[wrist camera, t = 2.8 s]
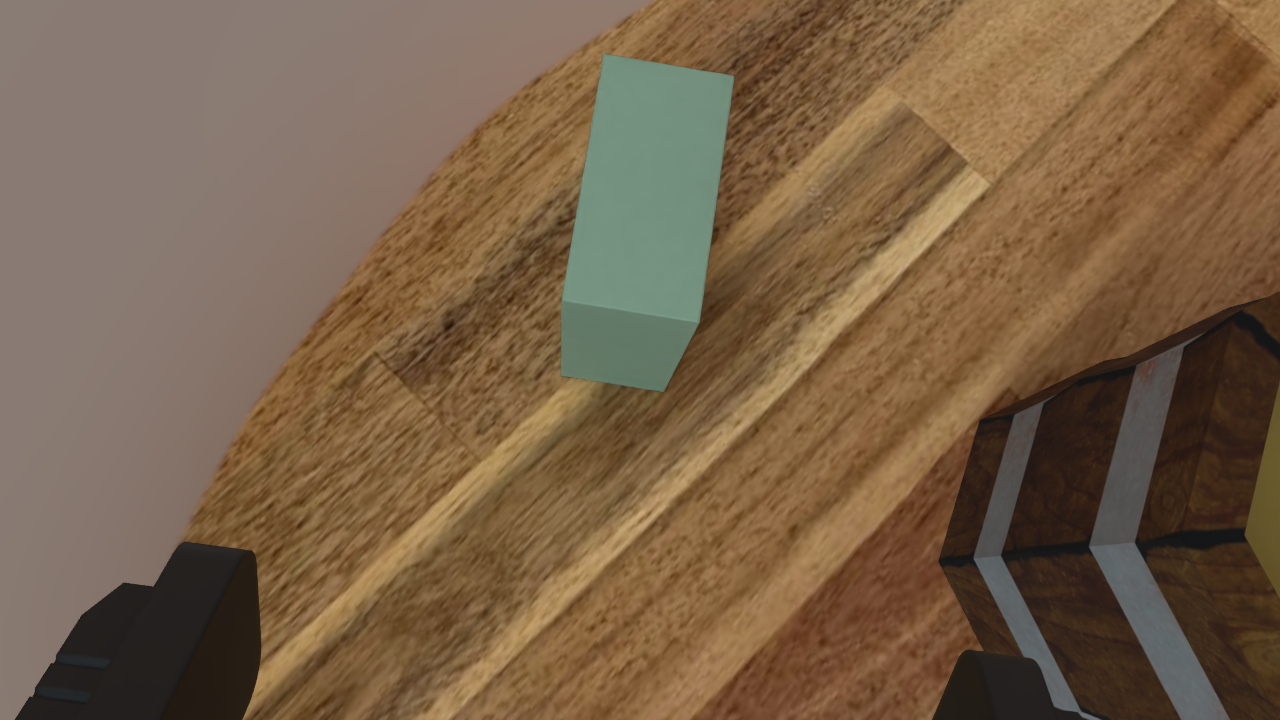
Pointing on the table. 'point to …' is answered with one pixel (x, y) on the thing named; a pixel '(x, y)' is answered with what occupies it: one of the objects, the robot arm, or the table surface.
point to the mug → (1136, 528)
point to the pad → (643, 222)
